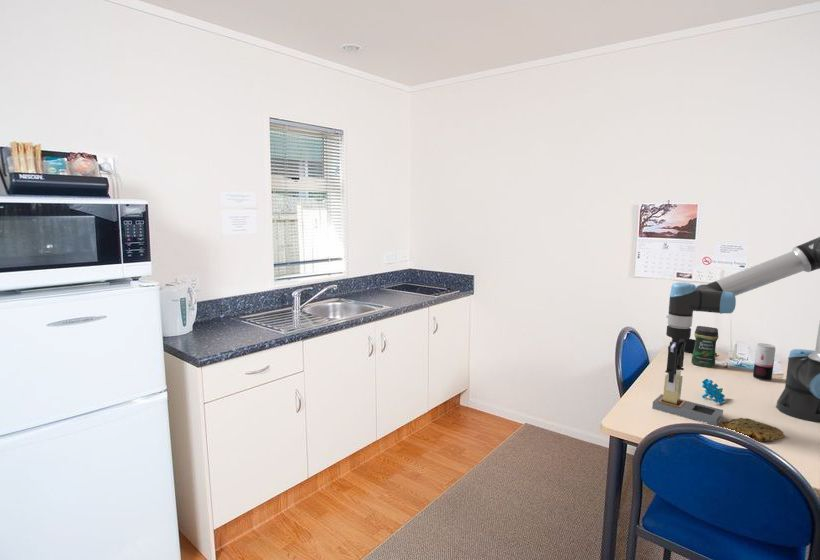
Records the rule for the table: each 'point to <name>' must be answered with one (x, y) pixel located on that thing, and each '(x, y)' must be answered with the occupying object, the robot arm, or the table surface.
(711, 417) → the grey block
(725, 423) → the pastry
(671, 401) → the brass peg
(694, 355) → the coffee jar
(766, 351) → the beverage can
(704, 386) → the blue irregular branched piece
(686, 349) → the game console
